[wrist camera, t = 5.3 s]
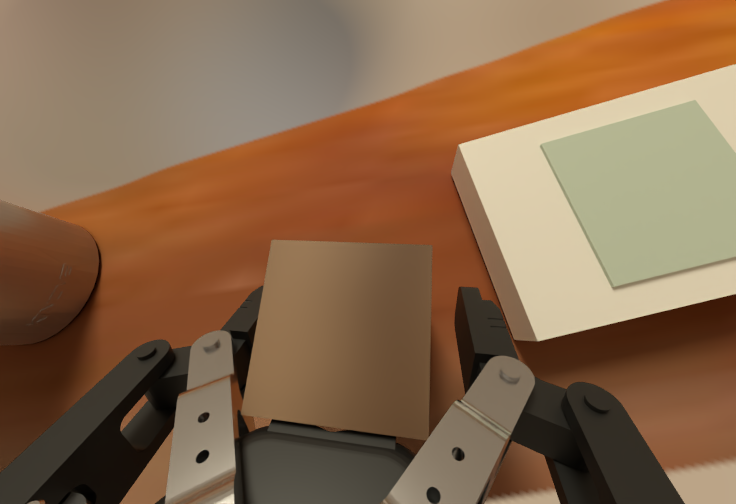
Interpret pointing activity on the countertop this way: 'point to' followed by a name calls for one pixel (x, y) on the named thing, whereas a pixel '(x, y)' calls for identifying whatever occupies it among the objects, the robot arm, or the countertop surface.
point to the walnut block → (344, 337)
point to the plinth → (608, 207)
